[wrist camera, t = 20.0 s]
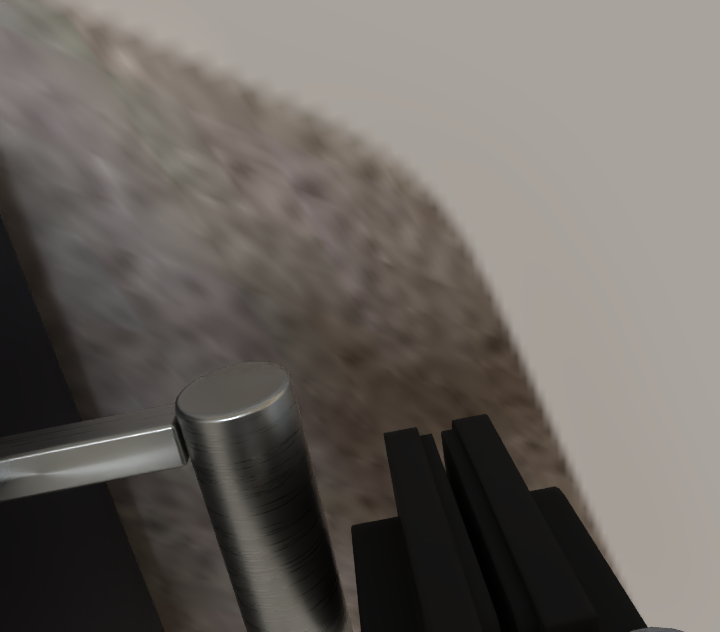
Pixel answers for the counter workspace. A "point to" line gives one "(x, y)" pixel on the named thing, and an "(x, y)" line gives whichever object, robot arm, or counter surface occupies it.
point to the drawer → (142, 456)
